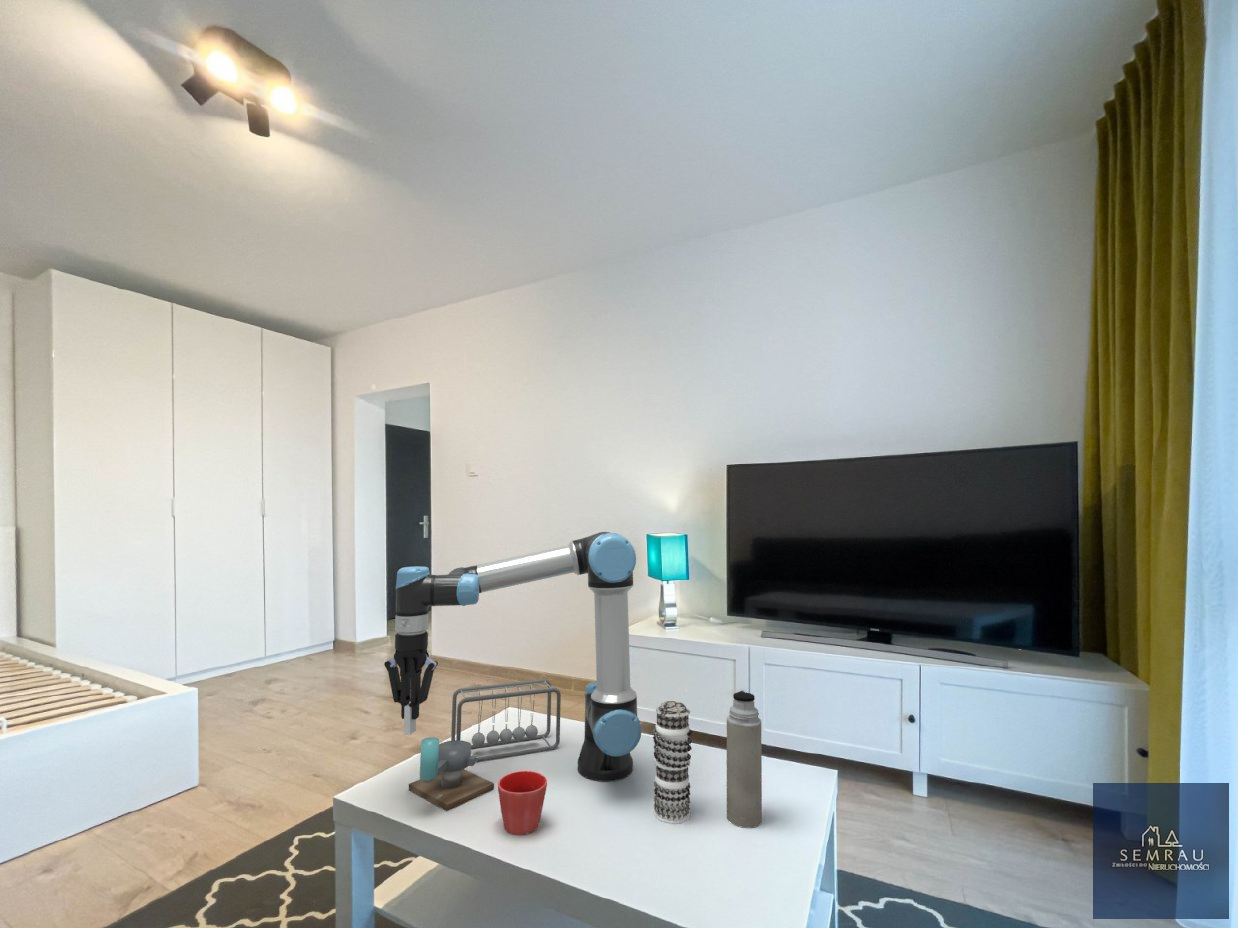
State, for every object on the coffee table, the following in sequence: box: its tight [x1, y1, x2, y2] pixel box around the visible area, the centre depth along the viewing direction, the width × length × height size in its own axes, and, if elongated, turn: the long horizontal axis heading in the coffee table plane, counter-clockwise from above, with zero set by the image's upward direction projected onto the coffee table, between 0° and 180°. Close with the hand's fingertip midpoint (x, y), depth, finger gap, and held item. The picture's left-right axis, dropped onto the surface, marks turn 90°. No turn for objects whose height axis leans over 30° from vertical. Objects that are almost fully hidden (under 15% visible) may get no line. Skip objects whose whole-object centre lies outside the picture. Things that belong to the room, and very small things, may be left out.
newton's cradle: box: [450, 679, 562, 763], centre depth 171 cm, size 30×10×18 cm, turn 114°
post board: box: [408, 768, 495, 812], centre depth 147 cm, size 16×14×6 cm
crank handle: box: [419, 736, 478, 781], centre depth 143 cm, size 18×12×10 cm, turn 170°
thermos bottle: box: [726, 691, 763, 828], centre depth 136 cm, size 8×8×28 cm
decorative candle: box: [652, 700, 693, 825], centre depth 137 cm, size 9×9×25 cm
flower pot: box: [497, 770, 548, 836], centre depth 131 cm, size 11×11×10 cm
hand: (409, 732), depth 139 cm, fingers closed
